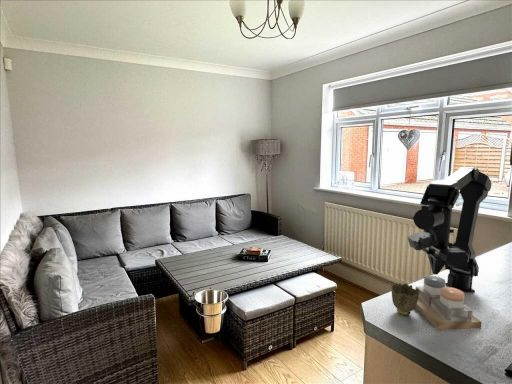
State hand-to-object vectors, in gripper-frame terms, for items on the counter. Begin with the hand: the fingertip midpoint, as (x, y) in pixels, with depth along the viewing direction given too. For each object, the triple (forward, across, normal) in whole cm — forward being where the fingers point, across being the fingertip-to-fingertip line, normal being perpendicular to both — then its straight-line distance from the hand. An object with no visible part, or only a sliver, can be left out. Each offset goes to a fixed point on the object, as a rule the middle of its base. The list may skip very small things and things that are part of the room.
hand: (435, 274), depth 93 cm
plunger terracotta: (+6, +8, 0) cm, 10 cm away
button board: (+10, +4, 0) cm, 11 cm away
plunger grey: (+6, 0, 0) cm, 6 cm away
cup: (+11, +4, -11) cm, 16 cm away
